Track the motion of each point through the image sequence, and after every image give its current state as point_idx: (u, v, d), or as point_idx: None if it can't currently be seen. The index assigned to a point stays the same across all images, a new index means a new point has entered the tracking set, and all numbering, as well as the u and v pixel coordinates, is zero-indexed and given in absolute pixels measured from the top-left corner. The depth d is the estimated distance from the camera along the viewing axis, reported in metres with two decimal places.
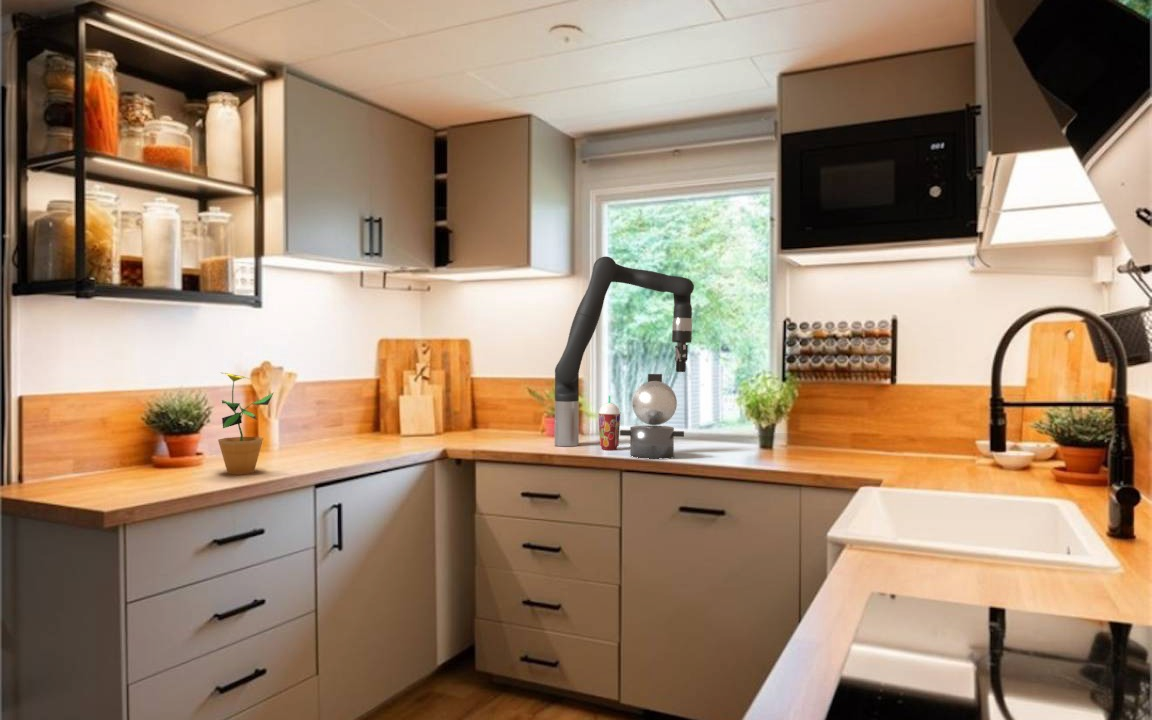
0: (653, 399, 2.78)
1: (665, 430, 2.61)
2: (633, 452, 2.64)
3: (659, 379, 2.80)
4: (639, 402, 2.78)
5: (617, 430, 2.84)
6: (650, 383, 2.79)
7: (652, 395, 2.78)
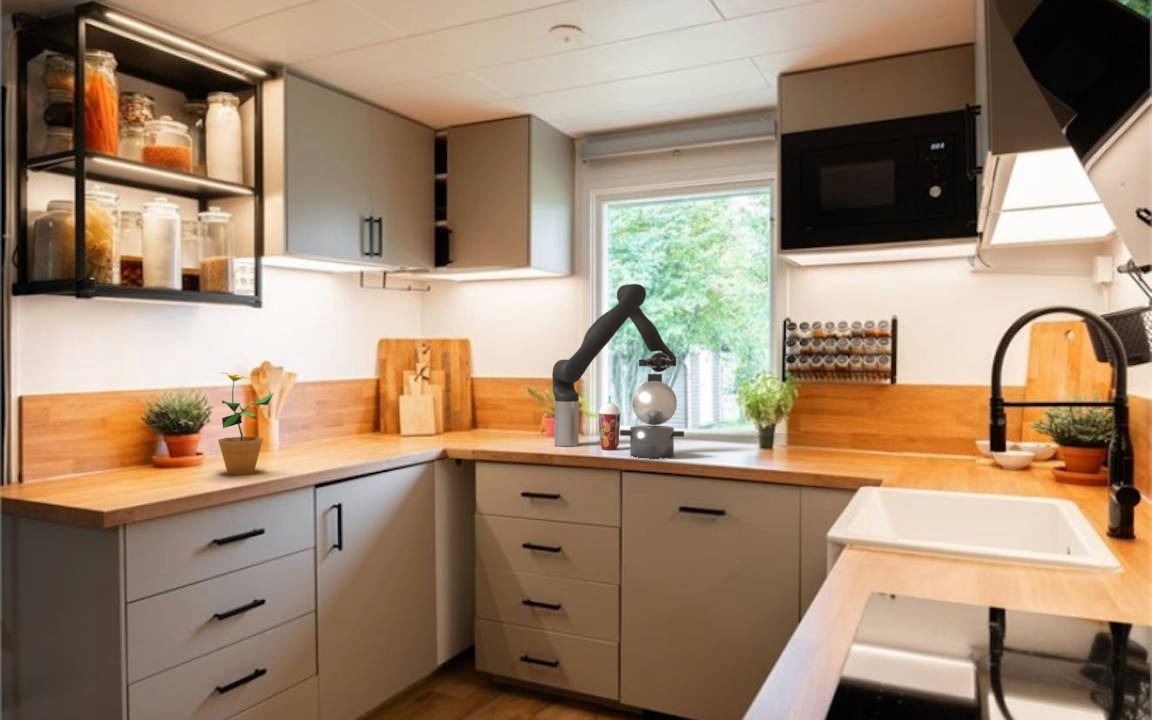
0: (653, 399, 2.78)
1: (665, 430, 2.61)
2: (633, 452, 2.64)
3: (659, 379, 2.80)
4: (639, 402, 2.78)
5: (617, 430, 2.84)
6: (650, 383, 2.79)
7: (652, 395, 2.78)
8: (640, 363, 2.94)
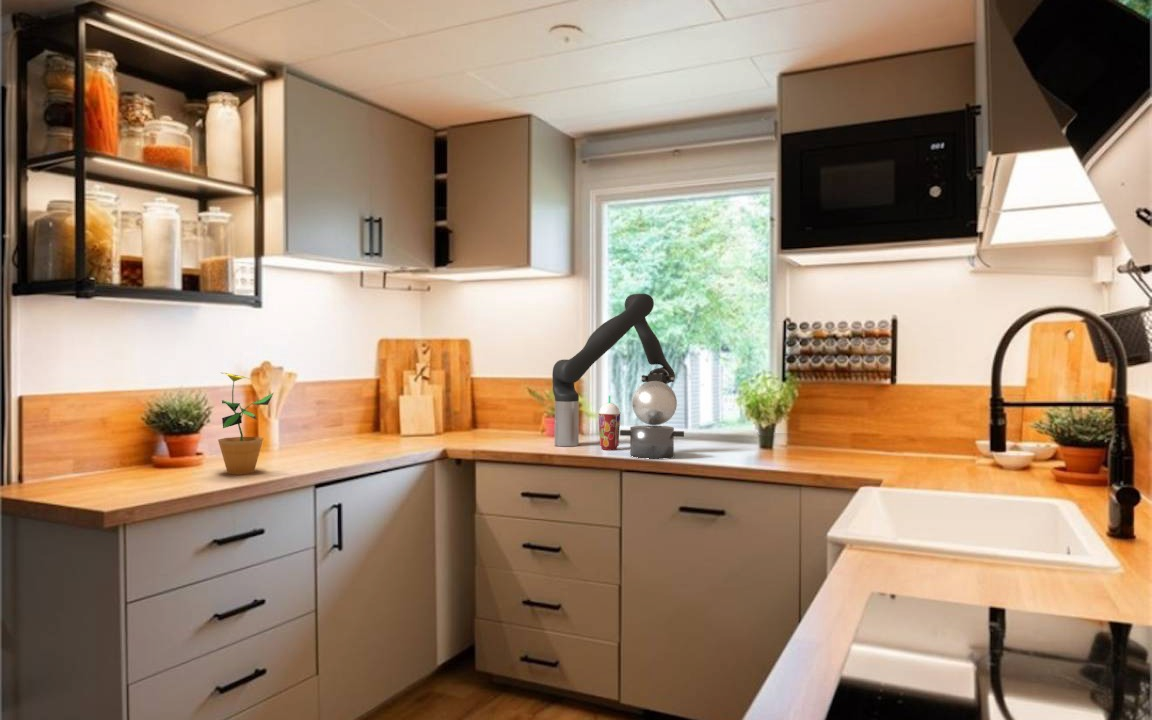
0: (653, 399, 2.78)
1: (665, 430, 2.61)
2: (633, 452, 2.64)
3: (659, 379, 2.80)
4: (639, 402, 2.78)
5: (617, 430, 2.84)
6: (650, 383, 2.79)
7: (652, 395, 2.78)
8: None
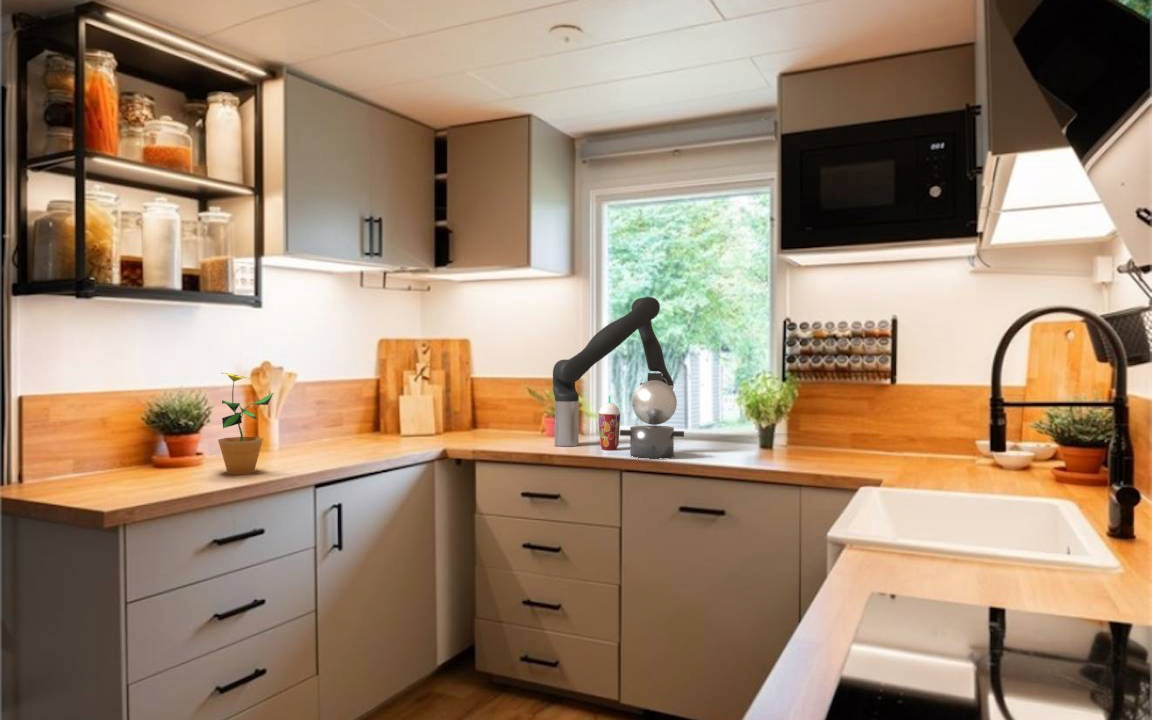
0: (653, 399, 2.77)
1: (665, 430, 2.61)
2: (633, 452, 2.64)
3: (659, 378, 2.78)
4: (639, 402, 2.78)
5: (617, 430, 2.84)
6: (650, 382, 2.78)
7: (652, 395, 2.77)
8: None
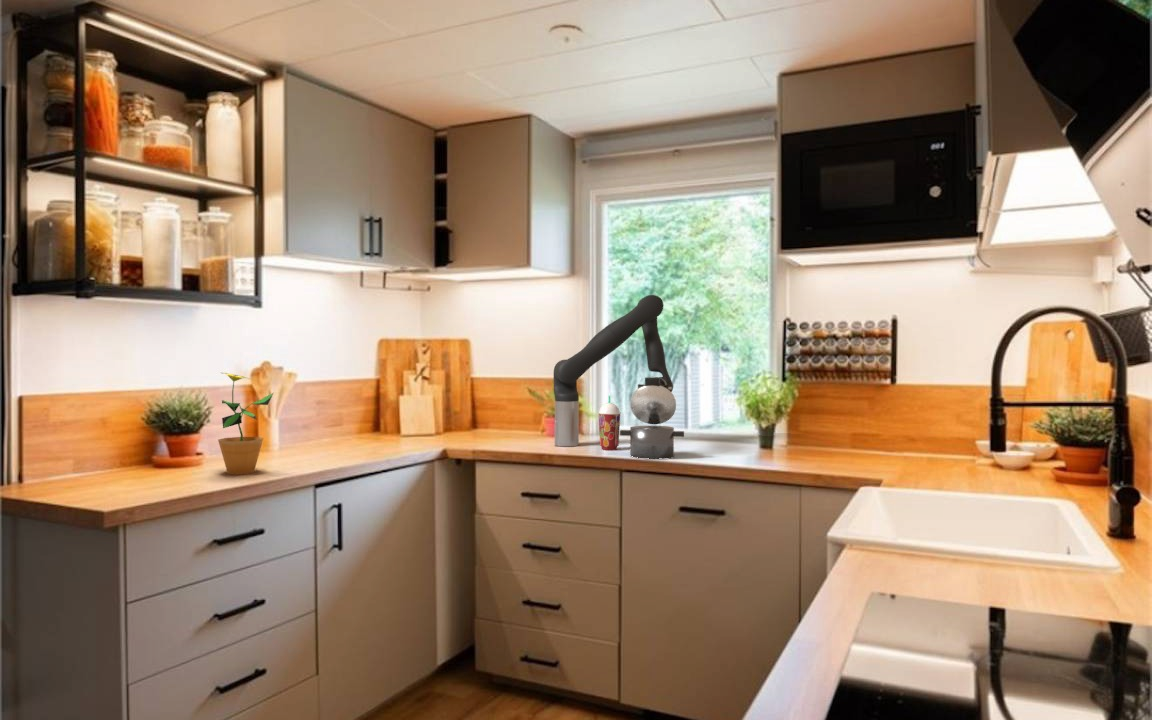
0: (652, 402, 2.71)
1: (665, 430, 2.61)
2: (633, 452, 2.64)
3: (657, 383, 2.68)
4: (637, 405, 2.73)
5: (617, 430, 2.84)
6: (647, 388, 2.68)
7: (650, 399, 2.70)
8: None
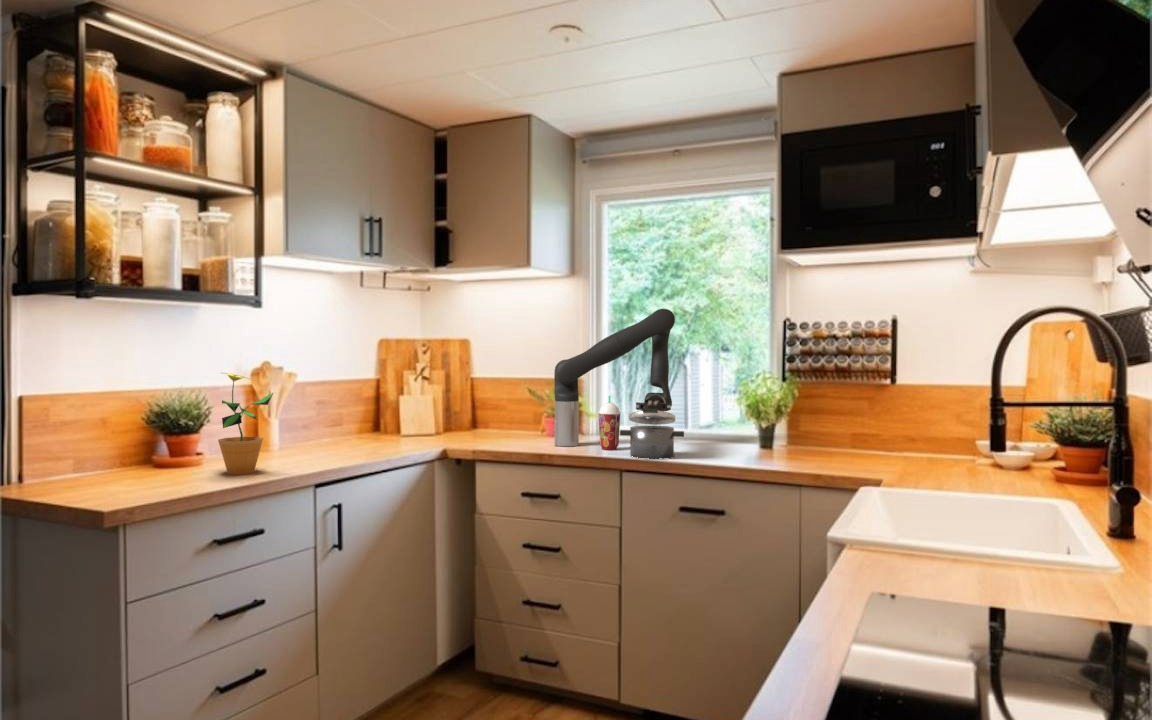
0: (650, 419, 2.67)
1: (665, 430, 2.61)
2: (633, 452, 2.64)
3: (655, 412, 2.59)
4: (636, 419, 2.69)
5: (617, 430, 2.84)
6: (646, 415, 2.61)
7: (649, 418, 2.65)
8: (645, 407, 2.68)
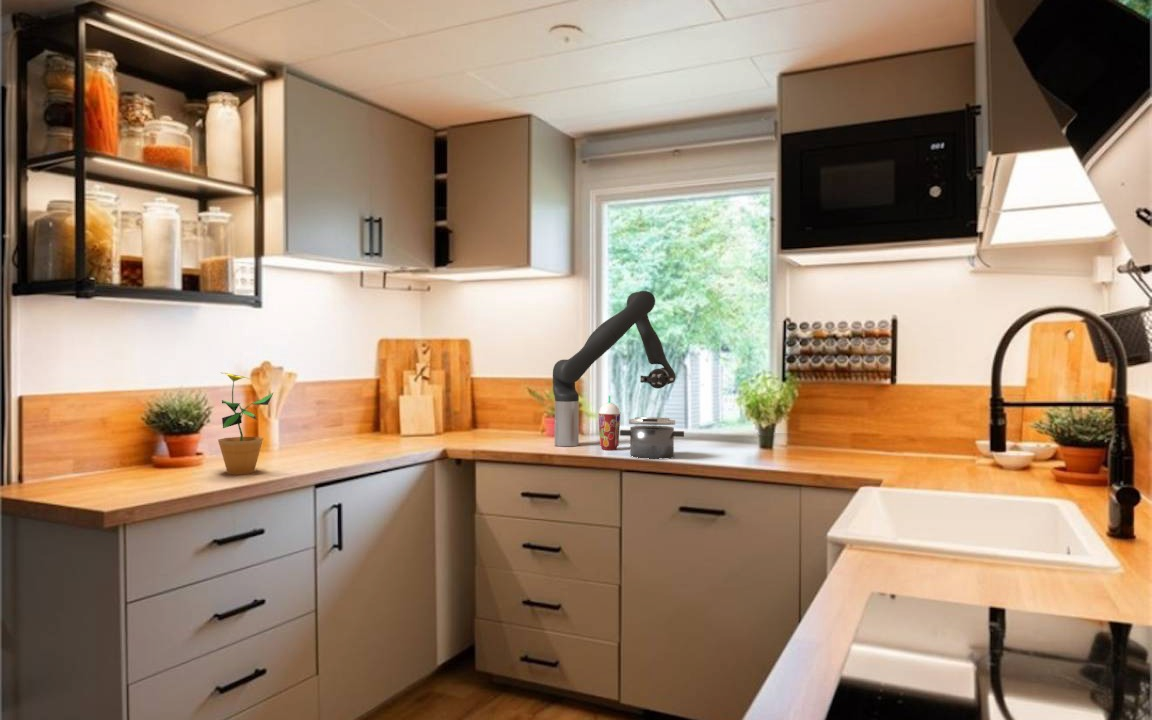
0: None
1: (665, 430, 2.61)
2: (633, 452, 2.64)
3: (655, 421, 2.59)
4: None
5: (617, 430, 2.84)
6: (645, 423, 2.61)
7: None
8: (648, 380, 2.85)
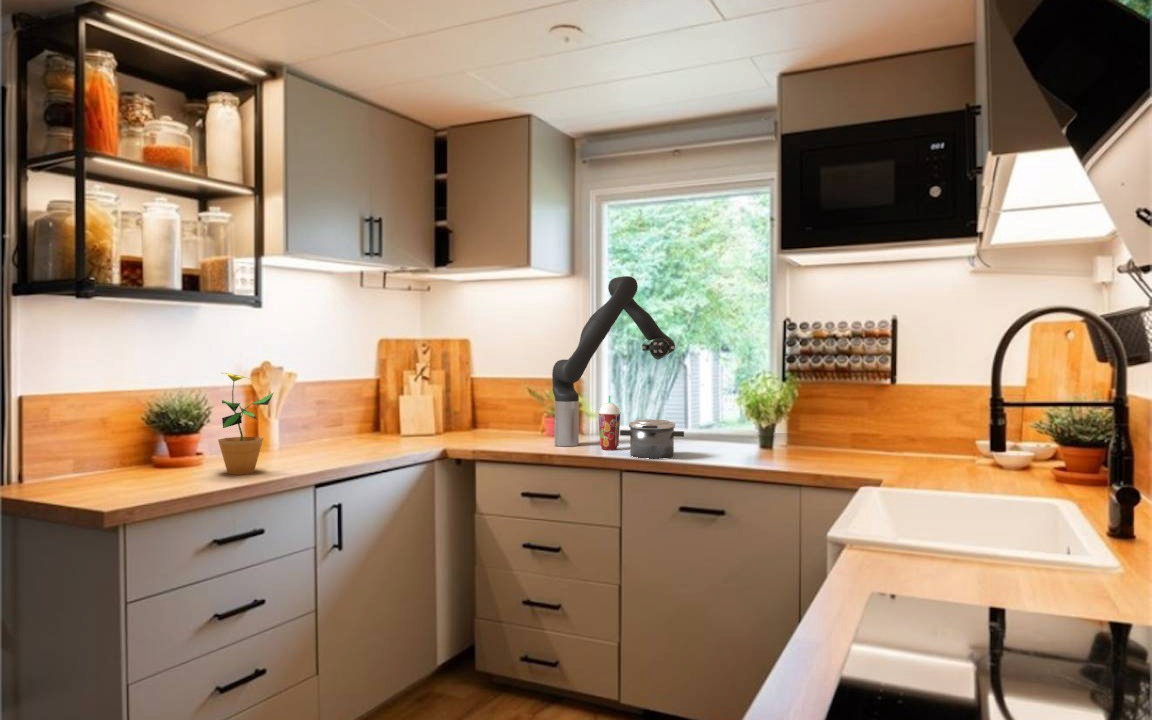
0: None
1: (665, 430, 2.61)
2: (633, 452, 2.64)
3: (654, 427, 2.58)
4: None
5: (617, 430, 2.84)
6: (645, 428, 2.61)
7: None
8: (650, 347, 2.93)
